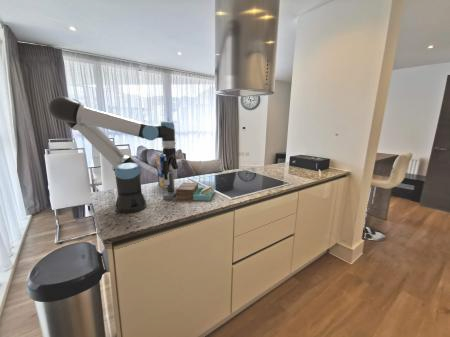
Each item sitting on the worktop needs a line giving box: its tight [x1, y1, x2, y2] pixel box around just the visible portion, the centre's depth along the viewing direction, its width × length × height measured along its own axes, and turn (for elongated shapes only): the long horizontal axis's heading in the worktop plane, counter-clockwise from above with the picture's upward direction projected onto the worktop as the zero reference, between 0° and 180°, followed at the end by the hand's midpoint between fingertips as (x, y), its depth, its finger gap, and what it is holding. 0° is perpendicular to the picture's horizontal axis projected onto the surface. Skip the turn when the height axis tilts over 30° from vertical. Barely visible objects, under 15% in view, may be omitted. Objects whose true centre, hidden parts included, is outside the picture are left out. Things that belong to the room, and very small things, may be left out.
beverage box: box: [155, 154, 172, 189], centre depth 151 cm, size 7×11×22 cm, turn 34°
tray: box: [193, 187, 215, 201], centre depth 130 cm, size 15×10×3 cm, turn 174°
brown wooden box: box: [176, 182, 199, 201], centre depth 130 cm, size 14×10×6 cm
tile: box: [201, 185, 213, 195], centre depth 129 cm, size 6×6×3 cm
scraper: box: [162, 172, 178, 201], centre depth 131 cm, size 16×6×14 cm, turn 174°
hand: (171, 181), depth 130 cm, fingers open, 13 cm apart
